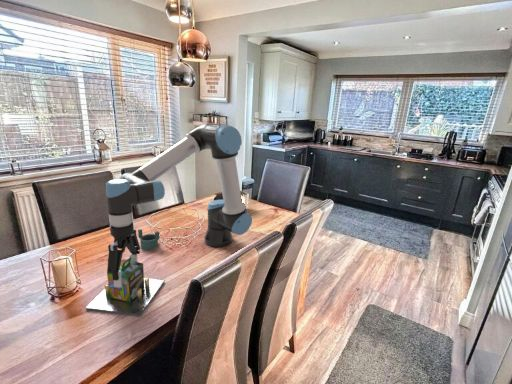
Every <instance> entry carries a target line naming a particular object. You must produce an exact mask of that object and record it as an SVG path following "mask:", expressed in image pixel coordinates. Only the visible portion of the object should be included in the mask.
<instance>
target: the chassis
mask: <svg viewBox="0 0 512 384" xmlns="http://www.w3.org/2000/svg"><path fill="white" fill-rule="evenodd" d="M164 284H165V280H164V279H157V278H148V277H144V287H145V288H144V289H143V290H142V291H141V288H138V289H137V296H136V297H135V298H134V299H133V300H132V301H131V302H127V301H123V300H118V299H114V298H110V294H109V285H108V283H107V284H105V285H104V289H103V290H102V291H101V292H99V294H98V295H96V297H95V298H94V299H93V300H92V301H90V303H89V304H88V305H87V306H86V307H85V310H86V311H91V312H92V311H93V312H101V313H109V314H114V315H115V314H116V315H125V316H133V317H142V315H143V314H144V312H145V311H146V310H147V308H148V306H149V305H150V304H151V303H152V301H153V300H154V298H155V297H156V295H157V294H158V292H159V291H160V290H161V288H162V287H163V285H164Z"/></svg>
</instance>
